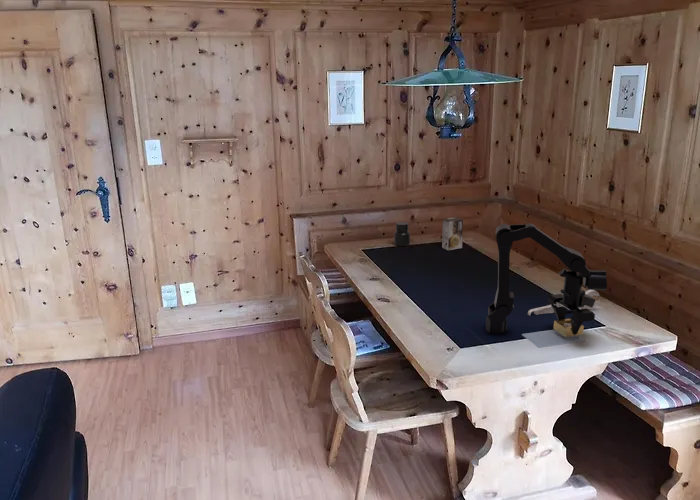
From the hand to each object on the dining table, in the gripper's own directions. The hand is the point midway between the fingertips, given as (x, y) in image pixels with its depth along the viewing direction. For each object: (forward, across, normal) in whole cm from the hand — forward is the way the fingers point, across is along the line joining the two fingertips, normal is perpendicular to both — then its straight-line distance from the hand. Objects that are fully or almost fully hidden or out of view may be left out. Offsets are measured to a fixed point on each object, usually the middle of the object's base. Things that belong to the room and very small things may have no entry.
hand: (568, 330), depth 199 cm
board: (+3, 0, +6) cm, 7 cm away
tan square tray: (0, 0, 0) cm, 0 cm away
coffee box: (+3, +113, -8) cm, 113 cm away
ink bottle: (+3, +128, +15) cm, 129 cm away
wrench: (+3, +20, -12) cm, 23 cm away
